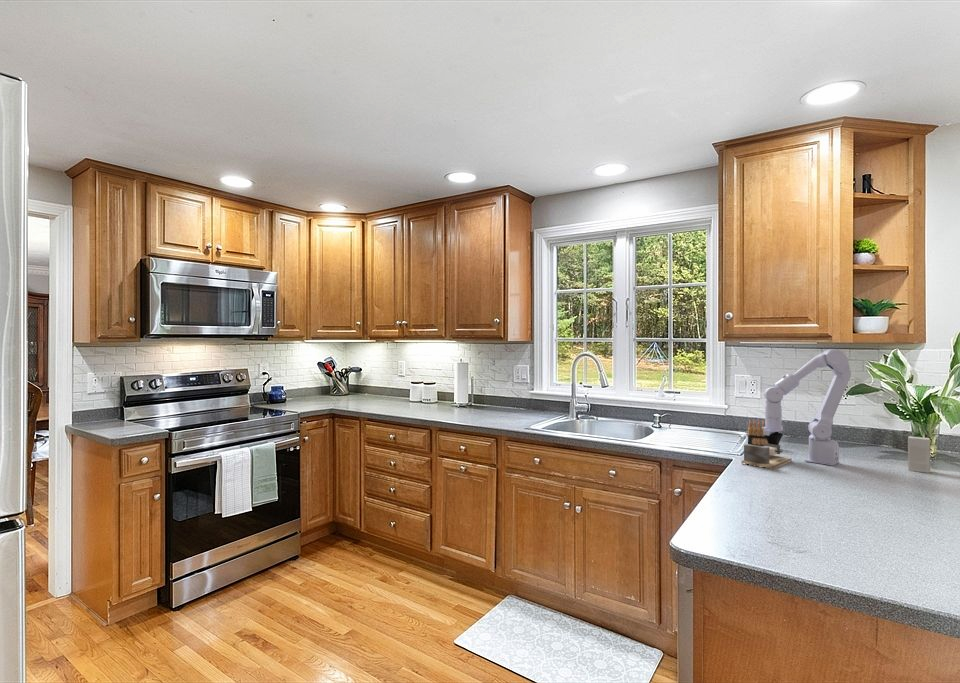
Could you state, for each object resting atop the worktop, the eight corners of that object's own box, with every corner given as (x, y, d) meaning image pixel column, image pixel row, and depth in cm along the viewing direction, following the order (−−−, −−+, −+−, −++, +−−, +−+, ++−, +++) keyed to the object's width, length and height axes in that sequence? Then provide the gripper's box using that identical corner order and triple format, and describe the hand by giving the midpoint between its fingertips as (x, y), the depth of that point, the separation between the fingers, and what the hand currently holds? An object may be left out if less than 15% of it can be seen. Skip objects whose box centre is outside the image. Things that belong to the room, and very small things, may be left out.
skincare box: (930, 471, 186) (930, 437, 186) (929, 473, 183) (929, 439, 183) (908, 468, 190) (908, 435, 190) (907, 470, 187) (907, 437, 187)
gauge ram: (784, 454, 202) (784, 445, 202) (777, 457, 197) (777, 448, 197) (763, 451, 208) (763, 442, 208) (756, 454, 203) (756, 445, 203)
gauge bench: (791, 461, 202) (791, 442, 202) (772, 469, 190) (772, 449, 190) (761, 456, 210) (761, 438, 210) (741, 463, 198) (741, 445, 198)
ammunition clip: (747, 446, 231) (747, 419, 231) (748, 445, 232) (748, 418, 232) (775, 449, 225) (775, 421, 225) (775, 448, 226) (775, 420, 226)
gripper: (769, 414, 214) (770, 447, 214) (755, 417, 205) (755, 452, 205) (788, 416, 209) (788, 449, 209) (774, 420, 200) (774, 455, 200)
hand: (773, 451), depth 207 cm, fingers closed
